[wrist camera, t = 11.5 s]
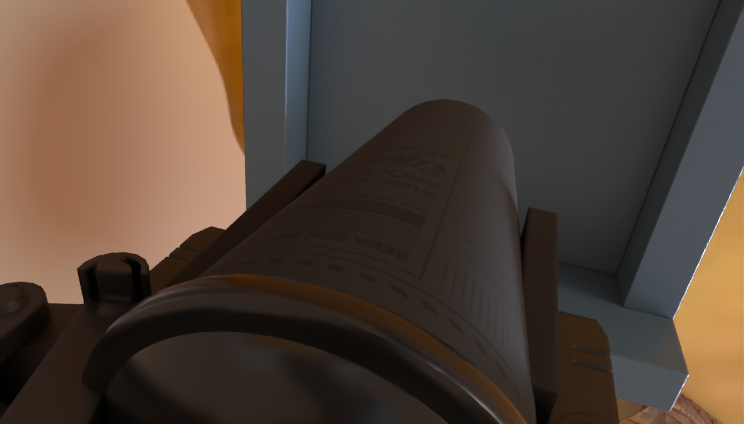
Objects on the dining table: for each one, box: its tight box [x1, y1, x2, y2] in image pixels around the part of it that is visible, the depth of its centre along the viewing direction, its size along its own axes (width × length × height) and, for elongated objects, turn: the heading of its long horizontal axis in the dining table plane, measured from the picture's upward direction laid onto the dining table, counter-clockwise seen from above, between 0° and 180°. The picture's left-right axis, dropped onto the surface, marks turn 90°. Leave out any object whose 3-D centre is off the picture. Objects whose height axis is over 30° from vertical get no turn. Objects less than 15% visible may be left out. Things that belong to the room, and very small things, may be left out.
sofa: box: [241, 0, 744, 412], centre depth 29 cm, size 19×24×13 cm
